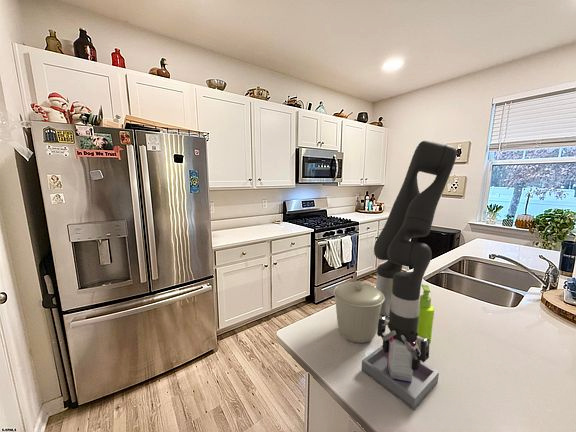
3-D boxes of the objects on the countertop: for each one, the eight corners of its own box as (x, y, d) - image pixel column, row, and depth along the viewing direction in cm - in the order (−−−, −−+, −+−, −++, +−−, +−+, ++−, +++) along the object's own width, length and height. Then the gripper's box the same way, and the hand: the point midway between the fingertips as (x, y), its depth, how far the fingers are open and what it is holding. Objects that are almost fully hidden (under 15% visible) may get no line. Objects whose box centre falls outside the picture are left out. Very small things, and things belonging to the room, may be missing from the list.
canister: (389, 332, 92) (393, 281, 88) (368, 359, 79) (372, 299, 75) (346, 314, 104) (348, 268, 100) (322, 334, 91) (324, 282, 87)
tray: (361, 370, 74) (362, 360, 73) (386, 350, 82) (387, 341, 82) (413, 410, 61) (415, 398, 61) (437, 382, 70) (438, 372, 69)
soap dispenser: (428, 334, 91) (433, 284, 87) (432, 346, 84) (438, 293, 81) (410, 331, 93) (415, 282, 89) (413, 342, 86) (418, 290, 83)
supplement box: (412, 383, 68) (415, 347, 66) (390, 380, 69) (393, 344, 68) (406, 367, 74) (410, 334, 72) (386, 364, 75) (389, 331, 73)
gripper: (437, 316, 65) (431, 369, 67) (388, 295, 76) (384, 341, 79) (424, 326, 60) (418, 382, 63) (374, 302, 72) (371, 351, 74)
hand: (399, 359), depth 71 cm, fingers open, 8 cm apart
